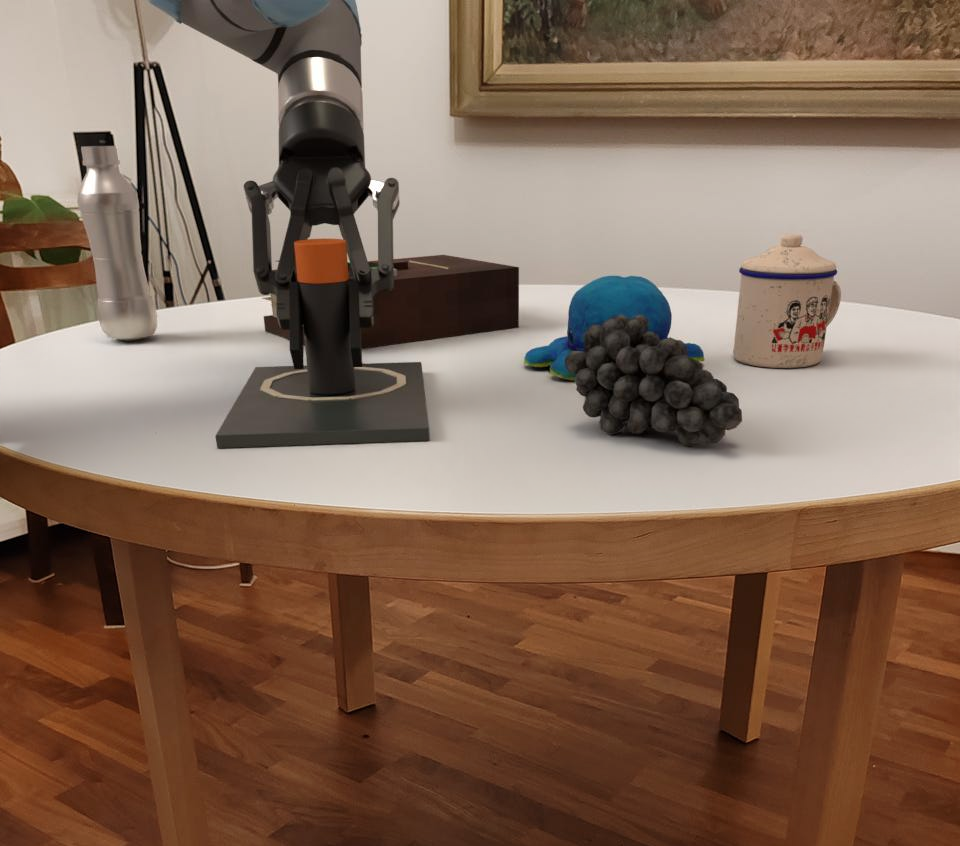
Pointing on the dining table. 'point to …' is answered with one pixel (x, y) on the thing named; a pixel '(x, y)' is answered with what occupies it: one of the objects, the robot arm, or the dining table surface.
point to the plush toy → (598, 307)
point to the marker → (325, 314)
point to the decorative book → (435, 301)
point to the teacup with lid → (785, 306)
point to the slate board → (328, 409)
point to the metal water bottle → (115, 247)
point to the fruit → (649, 384)
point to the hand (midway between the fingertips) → (326, 358)
